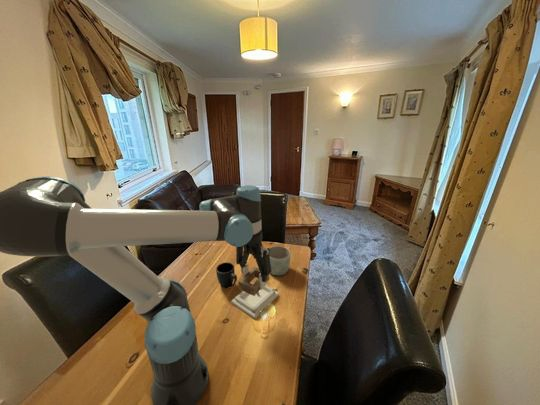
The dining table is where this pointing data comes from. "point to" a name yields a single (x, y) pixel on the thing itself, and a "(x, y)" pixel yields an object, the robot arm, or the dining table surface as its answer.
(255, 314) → the white flat rectangular tray
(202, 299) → the dining table surface
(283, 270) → the planter
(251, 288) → the frame
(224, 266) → the mug
